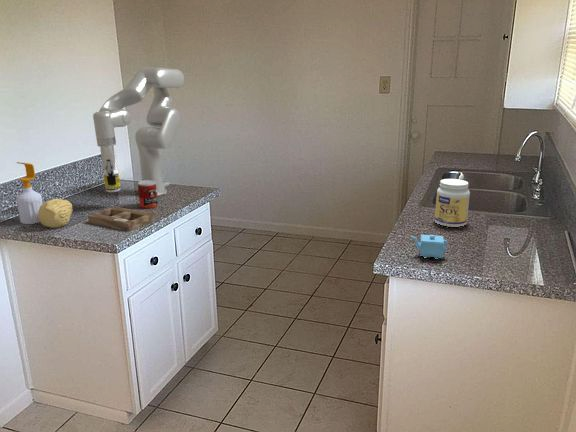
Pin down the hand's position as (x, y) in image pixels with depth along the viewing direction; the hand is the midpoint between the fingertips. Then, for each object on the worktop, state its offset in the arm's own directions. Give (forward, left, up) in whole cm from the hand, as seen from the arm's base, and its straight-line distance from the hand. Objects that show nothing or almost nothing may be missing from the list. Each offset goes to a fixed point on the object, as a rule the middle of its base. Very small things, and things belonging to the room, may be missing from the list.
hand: (112, 182), depth 228 cm
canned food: (-8, +12, -12) cm, 19 cm away
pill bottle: (0, 0, -4) cm, 4 cm away
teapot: (-8, +135, -12) cm, 136 cm away
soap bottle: (+29, -16, -12) cm, 35 cm away
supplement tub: (-45, +134, -12) cm, 142 cm away
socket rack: (+13, +17, -11) cm, 24 cm away
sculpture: (+28, -3, -12) cm, 30 cm away
